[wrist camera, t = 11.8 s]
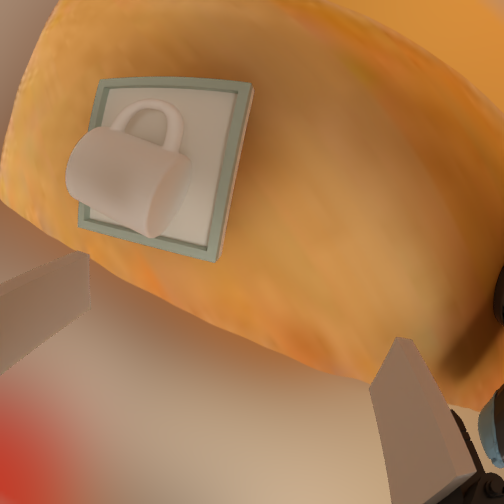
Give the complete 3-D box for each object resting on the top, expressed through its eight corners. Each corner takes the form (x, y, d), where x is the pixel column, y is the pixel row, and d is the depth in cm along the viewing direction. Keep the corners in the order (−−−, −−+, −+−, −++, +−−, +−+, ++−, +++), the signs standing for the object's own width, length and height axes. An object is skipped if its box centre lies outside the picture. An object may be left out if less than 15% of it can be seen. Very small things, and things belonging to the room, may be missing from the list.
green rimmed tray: (259, 101, 30) (251, 82, 23) (229, 245, 35) (214, 262, 28) (130, 91, 31) (99, 79, 24) (109, 217, 36) (77, 226, 29)
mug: (173, 229, 29) (136, 249, 21) (103, 195, 29) (56, 204, 21) (217, 122, 25) (190, 103, 18) (138, 96, 25) (95, 79, 18)
